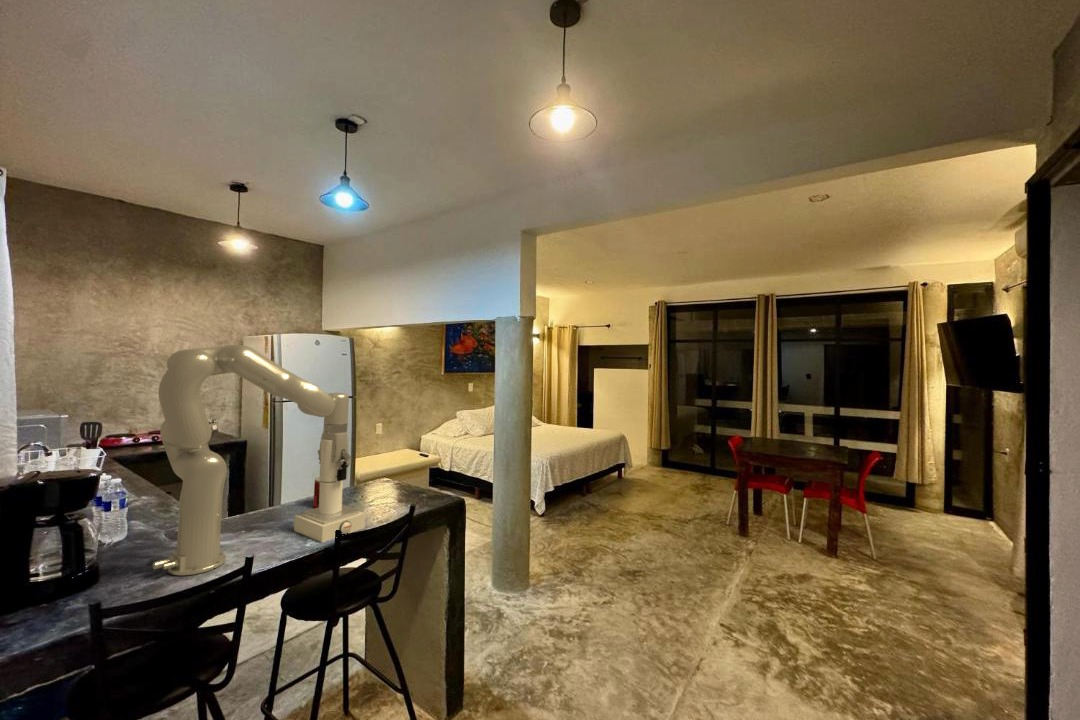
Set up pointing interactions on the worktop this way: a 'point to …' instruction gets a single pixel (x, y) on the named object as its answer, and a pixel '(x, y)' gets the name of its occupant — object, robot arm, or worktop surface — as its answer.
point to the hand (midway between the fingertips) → (332, 477)
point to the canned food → (316, 492)
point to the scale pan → (328, 518)
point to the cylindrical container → (329, 482)
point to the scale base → (328, 526)
